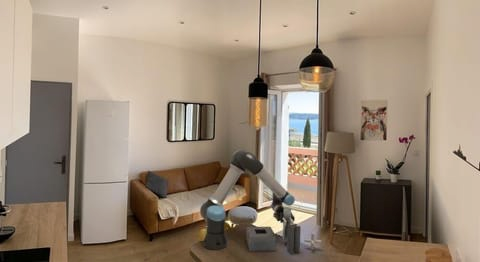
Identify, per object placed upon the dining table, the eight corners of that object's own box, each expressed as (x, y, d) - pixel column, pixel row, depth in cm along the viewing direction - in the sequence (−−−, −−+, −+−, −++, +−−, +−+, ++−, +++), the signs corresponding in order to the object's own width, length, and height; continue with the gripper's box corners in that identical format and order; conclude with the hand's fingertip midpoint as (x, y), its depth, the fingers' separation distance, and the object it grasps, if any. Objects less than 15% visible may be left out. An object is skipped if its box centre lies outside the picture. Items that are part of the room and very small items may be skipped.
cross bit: (285, 252, 179) (286, 226, 178) (288, 247, 186) (289, 222, 185) (298, 255, 176) (298, 228, 175) (300, 250, 183) (301, 224, 182)
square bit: (284, 240, 189) (285, 209, 188) (282, 237, 193) (283, 207, 192) (290, 239, 190) (291, 209, 189) (288, 237, 194) (289, 207, 193)
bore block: (249, 251, 179) (250, 236, 179) (246, 240, 195) (246, 226, 195) (275, 250, 181) (275, 236, 181) (270, 239, 197) (270, 226, 197)
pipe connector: (321, 253, 179) (321, 237, 178) (304, 251, 181) (304, 235, 180) (320, 246, 189) (320, 231, 188) (304, 244, 191) (304, 229, 190)
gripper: (291, 216, 210) (302, 229, 187) (268, 216, 208) (275, 229, 185) (292, 206, 209) (302, 217, 186) (268, 206, 208) (276, 217, 184)
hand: (289, 223), depth 186 cm, fingers closed on square bit, 4 cm apart
